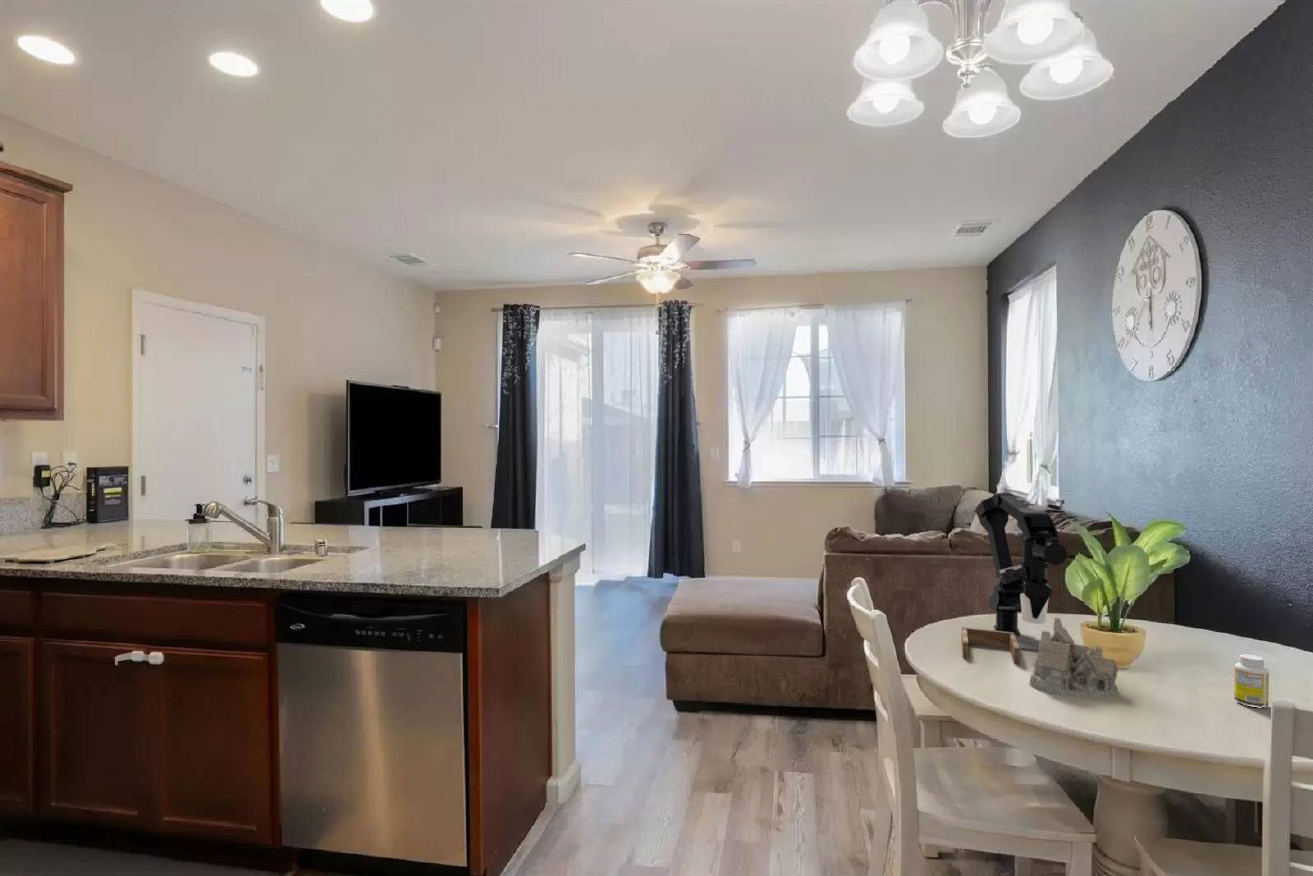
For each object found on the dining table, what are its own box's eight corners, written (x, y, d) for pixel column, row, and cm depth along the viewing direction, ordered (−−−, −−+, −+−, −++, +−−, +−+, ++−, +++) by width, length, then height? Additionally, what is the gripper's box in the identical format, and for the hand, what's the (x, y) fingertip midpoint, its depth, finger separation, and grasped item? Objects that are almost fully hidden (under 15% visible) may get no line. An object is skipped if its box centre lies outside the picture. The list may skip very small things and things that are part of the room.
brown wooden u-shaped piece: (961, 641, 193) (961, 627, 193) (1013, 647, 188) (1014, 632, 188) (962, 657, 179) (963, 642, 179) (1019, 664, 174) (1019, 648, 174)
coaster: (1013, 640, 195) (1013, 638, 195) (1050, 644, 191) (1050, 642, 191) (1016, 649, 186) (1016, 647, 186) (1054, 653, 183) (1054, 651, 183)
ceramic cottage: (1018, 683, 160) (1025, 619, 159) (1054, 673, 169) (1060, 612, 169) (1091, 710, 147) (1099, 640, 147) (1125, 697, 156) (1132, 632, 156)
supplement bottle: (1250, 699, 152) (1251, 652, 152) (1275, 709, 147) (1276, 660, 147) (1227, 699, 152) (1228, 653, 152) (1251, 710, 146) (1252, 661, 146)
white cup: (1053, 624, 185) (1054, 598, 185) (1027, 624, 186) (1028, 598, 186) (1039, 617, 192) (1040, 592, 192) (1014, 617, 192) (1015, 592, 192)
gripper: (999, 550, 201) (998, 604, 201) (1004, 561, 183) (1003, 620, 183) (1043, 553, 196) (1042, 608, 196) (1052, 565, 179) (1051, 625, 179)
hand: (1033, 615), depth 189 cm, fingers closed on white cup, 6 cm apart
